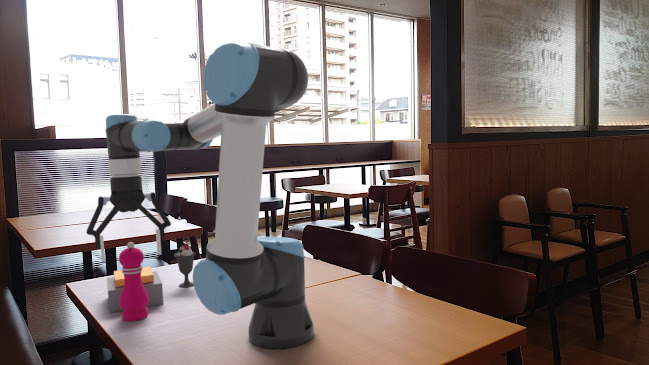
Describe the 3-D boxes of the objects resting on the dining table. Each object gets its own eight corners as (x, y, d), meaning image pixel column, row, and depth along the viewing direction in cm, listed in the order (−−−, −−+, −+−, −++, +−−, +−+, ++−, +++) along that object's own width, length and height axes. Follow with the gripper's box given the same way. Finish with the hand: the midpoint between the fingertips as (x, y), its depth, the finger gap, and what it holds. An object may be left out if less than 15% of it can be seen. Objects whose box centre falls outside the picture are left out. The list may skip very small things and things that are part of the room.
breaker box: (163, 303, 142) (162, 283, 142) (109, 312, 137) (108, 290, 136) (157, 290, 155) (156, 271, 154) (108, 297, 149) (106, 277, 149)
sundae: (194, 288, 156) (192, 240, 155) (173, 288, 156) (170, 241, 155) (200, 281, 163) (197, 236, 161) (179, 282, 163) (177, 236, 162)
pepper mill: (139, 322, 128) (135, 245, 127) (114, 321, 130) (109, 244, 128) (155, 312, 136) (150, 239, 134) (130, 311, 137) (126, 238, 135)
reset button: (154, 298, 143) (153, 274, 143) (116, 304, 139) (115, 279, 138) (151, 289, 152) (149, 266, 152) (115, 294, 148) (113, 271, 148)
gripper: (173, 171, 138) (179, 248, 139) (71, 178, 127) (79, 261, 129) (178, 172, 131) (183, 253, 133) (70, 180, 121) (78, 267, 122)
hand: (132, 257), depth 131 cm, fingers open, 13 cm apart
